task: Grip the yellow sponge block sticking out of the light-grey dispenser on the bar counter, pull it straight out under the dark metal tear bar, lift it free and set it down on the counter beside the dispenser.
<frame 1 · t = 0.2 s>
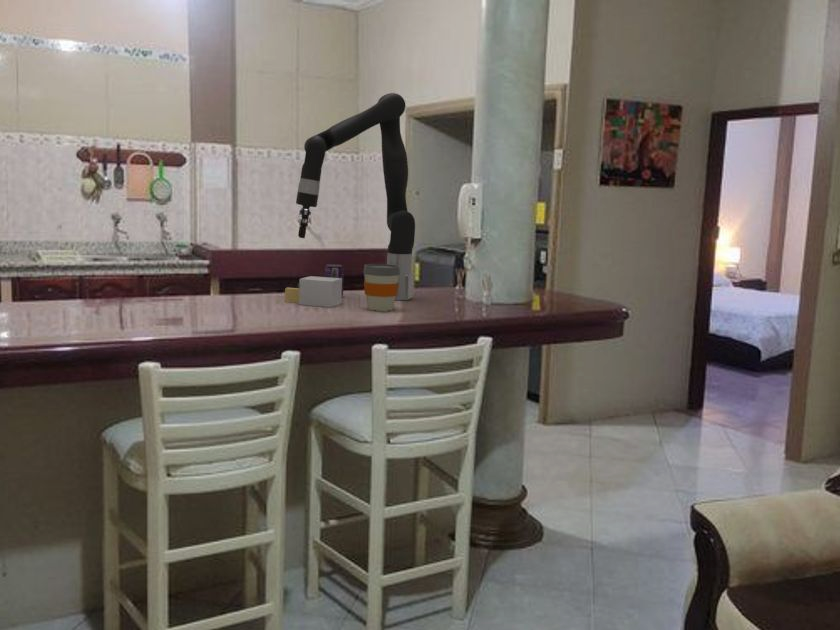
hand: (301, 237, 285), 22 cm above the counter, tool pointing down, fingers open, 8 cm apart
yellow sponge block: (299, 302, 280), on the counter
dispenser: (320, 304, 278), on the counter
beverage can: (333, 297, 297), on the counter
reusable coffee cup: (380, 309, 273), on the counter
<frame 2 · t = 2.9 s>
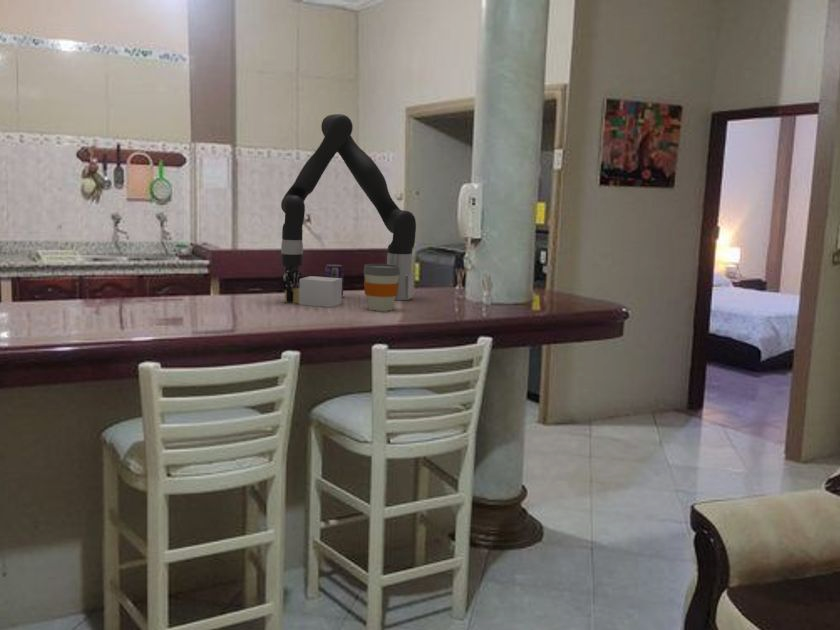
hand: (291, 301, 280), 0 cm above the counter, tool pointing down, fingers closed
yellow sponge block: (299, 302, 280), on the counter, touching gripper
everything else where it was.
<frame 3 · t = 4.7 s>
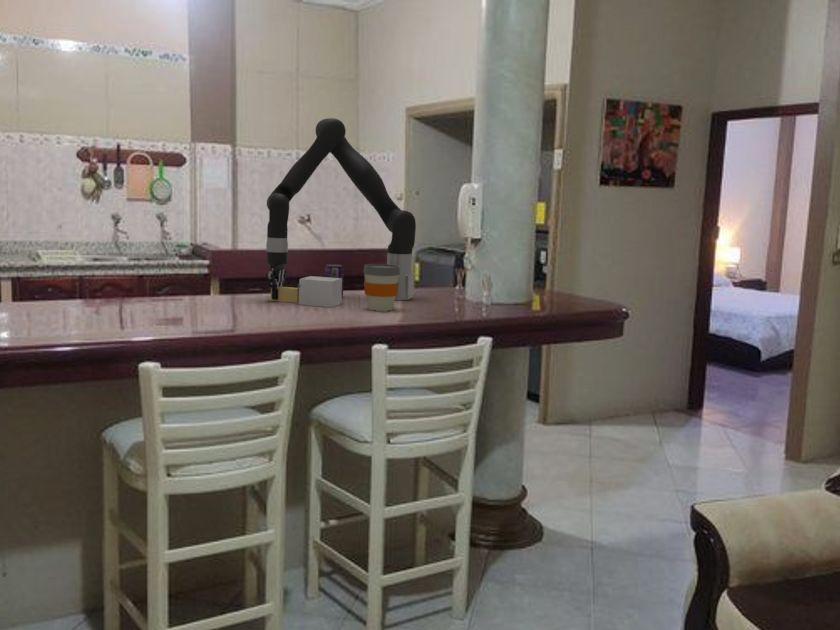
hand: (276, 298, 281), 1 cm above the counter, tool pointing down, fingers closed on yellow sponge block, 1 cm apart
yellow sponge block: (284, 301, 281), on the counter, touching gripper
everything else where it was.
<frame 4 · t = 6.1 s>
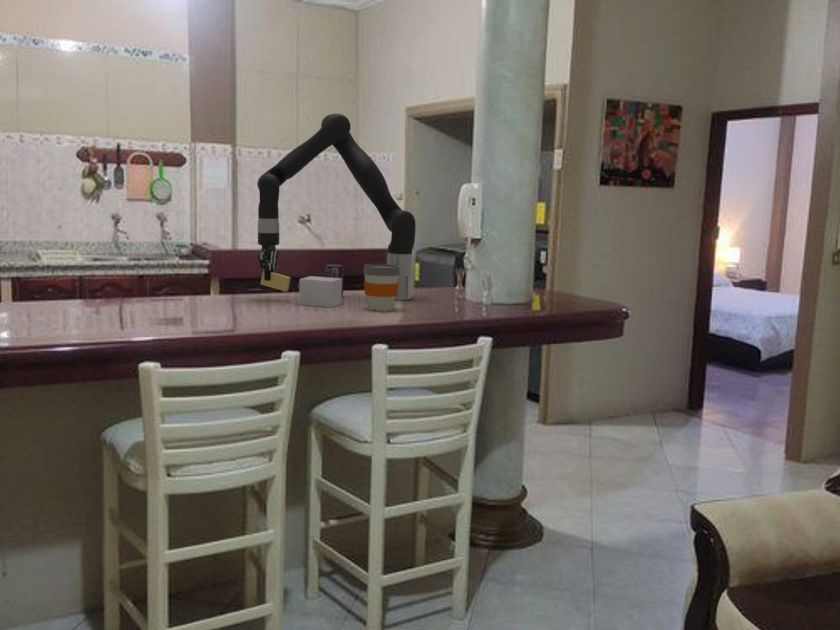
hand: (268, 279, 281), 7 cm above the counter, tool pointing down, fingers closed on yellow sponge block
yellow sponge block: (274, 287, 281), point 5 cm above the counter, tilted 11°, touching gripper
everything else where it was.
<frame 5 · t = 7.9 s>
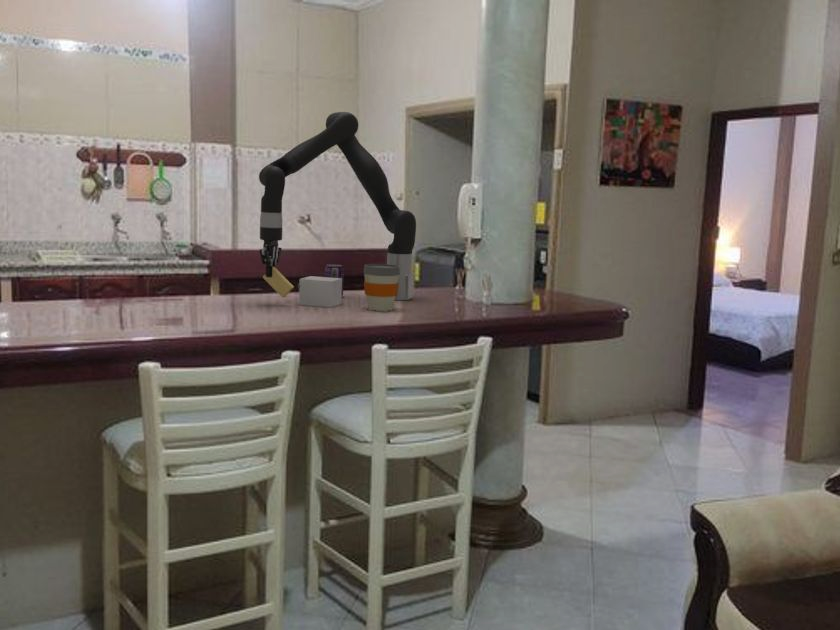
hand: (270, 276, 271), 10 cm above the counter, tool pointing down, fingers closed on yellow sponge block
yellow sponge block: (273, 287, 271), point 6 cm above the counter, tilted 41°, touching gripper
everything else where it was.
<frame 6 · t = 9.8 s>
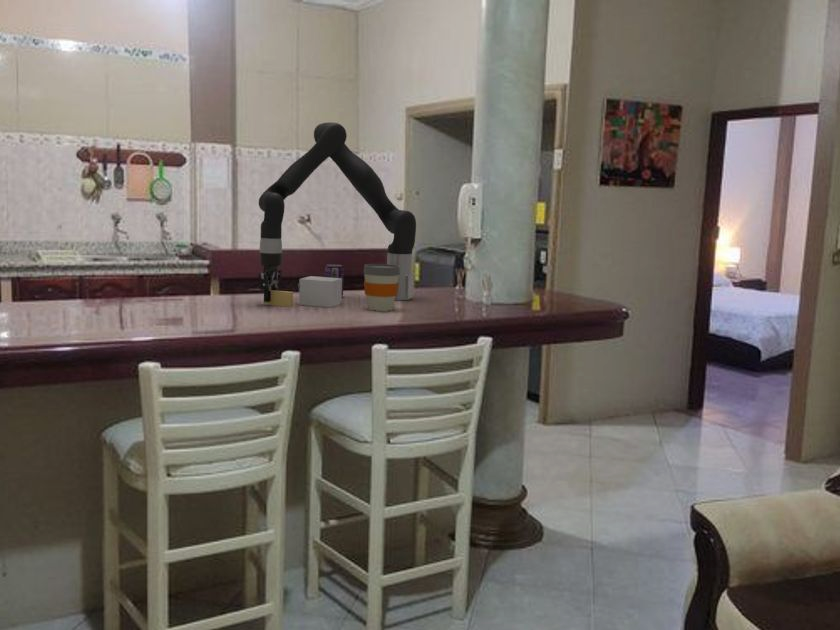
hand: (270, 300, 272), 1 cm above the counter, tool pointing down, fingers open, 4 cm apart
yellow sponge block: (278, 305, 272), on the counter
everything else where it was.
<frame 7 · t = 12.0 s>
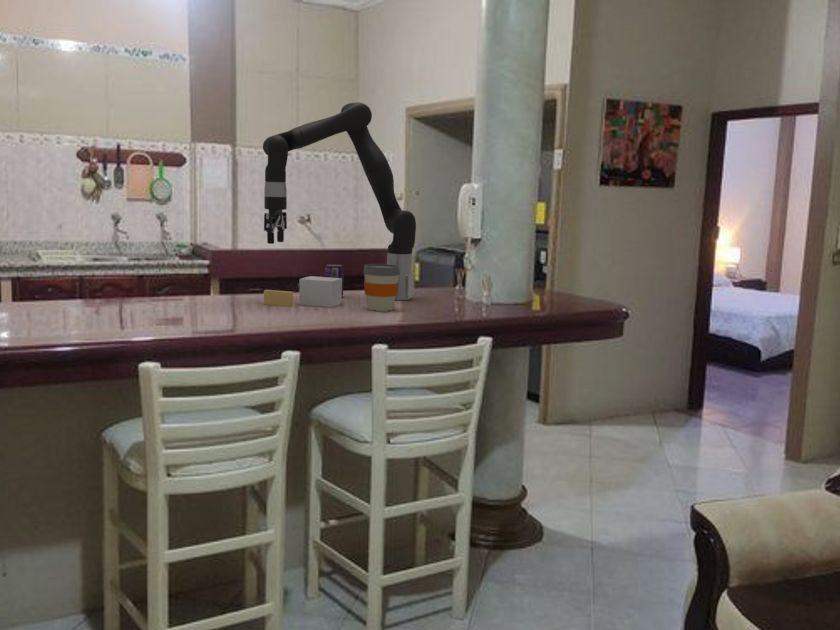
hand: (275, 242, 273), 21 cm above the counter, tool pointing down, fingers open, 8 cm apart
nothing on the counter moved.
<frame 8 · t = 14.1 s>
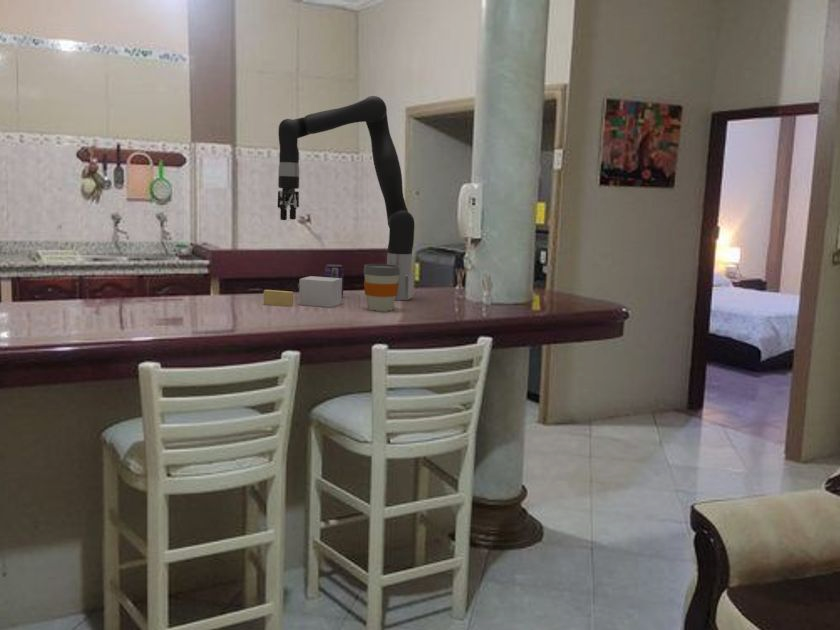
hand: (288, 219, 292), 28 cm above the counter, tool pointing down, fingers open, 8 cm apart
nothing on the counter moved.
at the end: yellow sponge block inside the target area (3.5 cm from its centre), on the counter; yellow sponge block touching counter; the gripper is holding nothing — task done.
